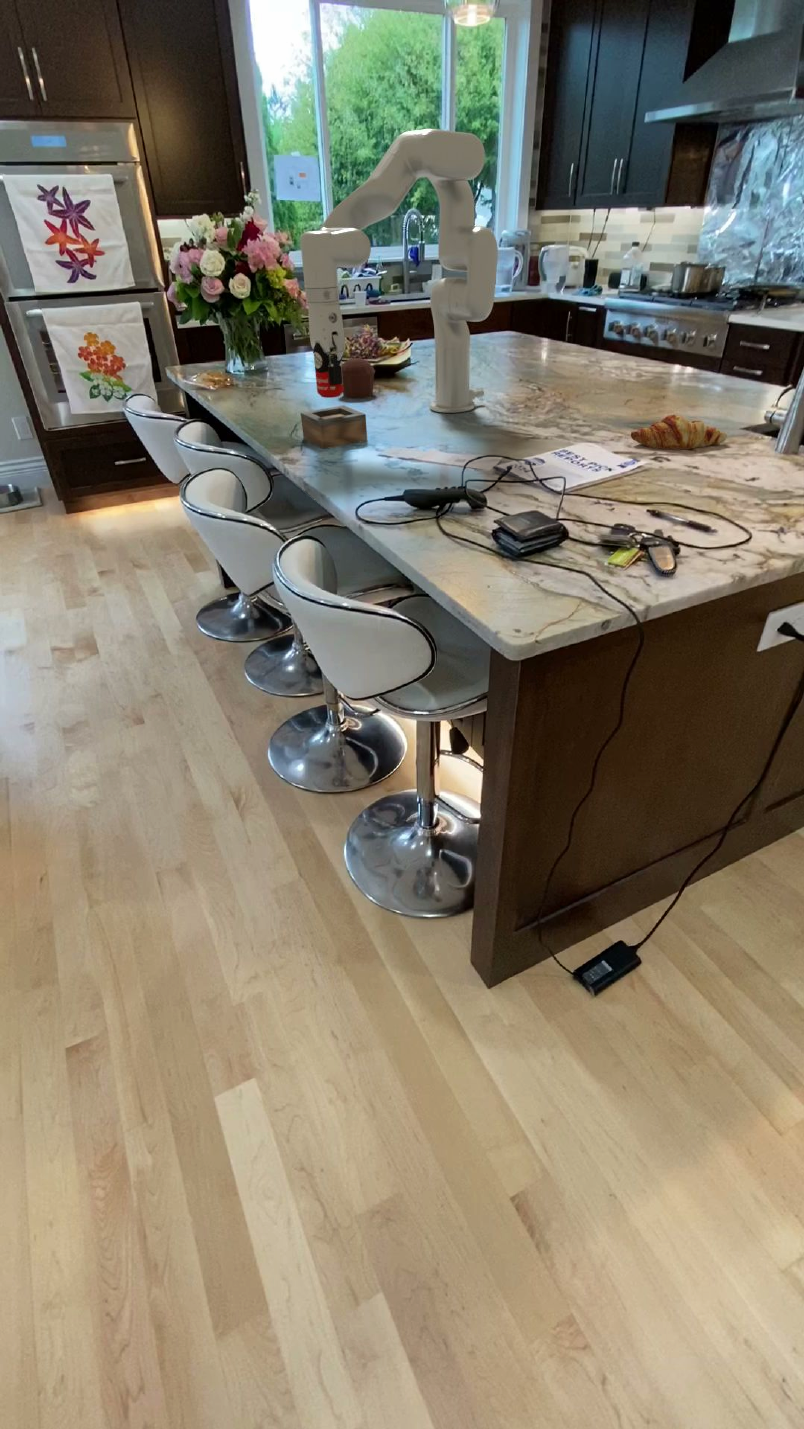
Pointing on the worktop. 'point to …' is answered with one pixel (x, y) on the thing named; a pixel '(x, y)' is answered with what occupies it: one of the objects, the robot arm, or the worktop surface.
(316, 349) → the beverage can
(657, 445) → the croissant
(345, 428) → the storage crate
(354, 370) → the muffin
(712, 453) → the worktop surface
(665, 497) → the worktop surface
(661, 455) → the worktop surface
